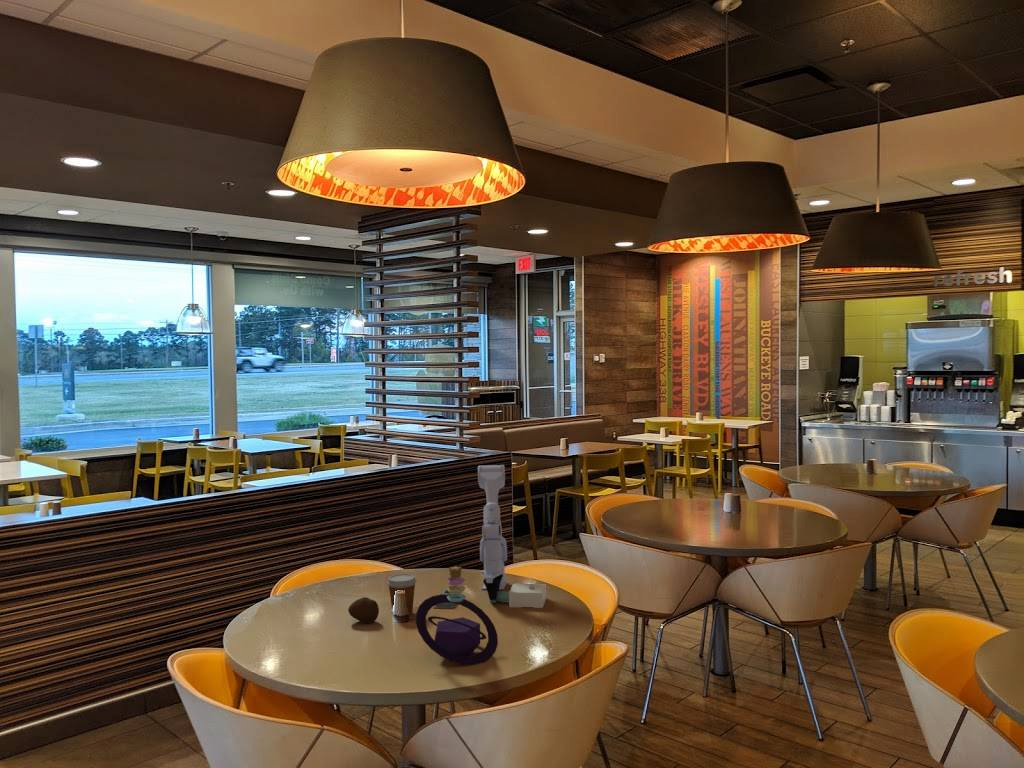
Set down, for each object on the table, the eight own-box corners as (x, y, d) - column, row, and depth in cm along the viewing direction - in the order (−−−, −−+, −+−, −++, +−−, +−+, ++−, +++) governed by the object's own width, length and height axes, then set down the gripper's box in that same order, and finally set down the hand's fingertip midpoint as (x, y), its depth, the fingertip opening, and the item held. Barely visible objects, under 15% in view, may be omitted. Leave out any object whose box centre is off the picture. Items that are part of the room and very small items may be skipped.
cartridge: (491, 599, 272) (491, 588, 271) (535, 600, 269) (535, 589, 269) (490, 602, 268) (489, 591, 268) (534, 603, 266) (533, 592, 266)
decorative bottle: (442, 677, 209) (440, 583, 207) (404, 654, 226) (401, 567, 224) (511, 656, 222) (509, 568, 221) (470, 635, 239) (468, 553, 238)
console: (443, 594, 280) (443, 588, 280) (462, 594, 279) (462, 588, 279) (433, 608, 265) (432, 601, 265) (452, 608, 264) (452, 602, 264)
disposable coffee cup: (415, 618, 255) (414, 581, 255) (385, 618, 256) (384, 582, 255) (419, 608, 265) (418, 573, 264) (390, 609, 265) (389, 573, 265)
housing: (513, 597, 274) (513, 581, 273) (546, 598, 272) (545, 581, 272) (509, 607, 264) (508, 589, 264) (542, 608, 262) (542, 590, 262)
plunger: (447, 595, 277) (447, 587, 277) (455, 595, 276) (455, 588, 276) (445, 597, 274) (445, 590, 274) (453, 597, 274) (453, 590, 273)
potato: (376, 626, 249) (375, 601, 249) (345, 626, 250) (345, 601, 249) (382, 618, 256) (381, 594, 256) (352, 618, 257) (351, 594, 257)
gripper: (485, 552, 277) (486, 591, 278) (476, 563, 263) (478, 604, 263) (505, 552, 276) (506, 591, 276) (497, 564, 261) (499, 604, 262)
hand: (493, 597), depth 270 cm, fingers closed on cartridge, 3 cm apart
